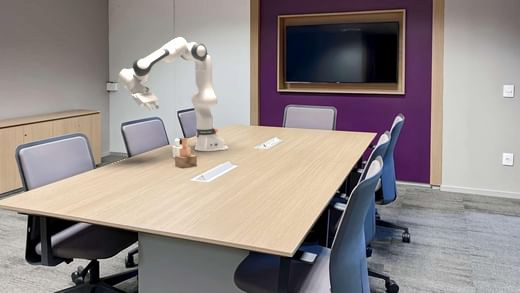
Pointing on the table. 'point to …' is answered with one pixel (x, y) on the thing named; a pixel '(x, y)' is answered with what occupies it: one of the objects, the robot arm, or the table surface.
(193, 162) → the walnut block
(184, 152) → the vase
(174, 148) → the medicine bottle
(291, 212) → the table surface
